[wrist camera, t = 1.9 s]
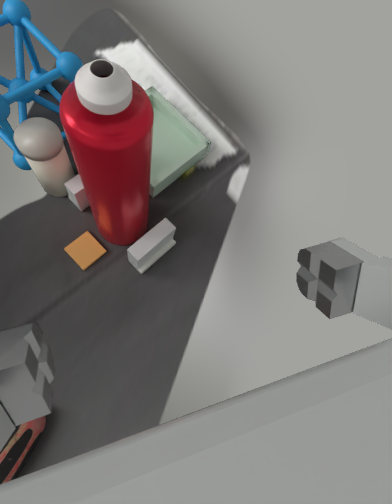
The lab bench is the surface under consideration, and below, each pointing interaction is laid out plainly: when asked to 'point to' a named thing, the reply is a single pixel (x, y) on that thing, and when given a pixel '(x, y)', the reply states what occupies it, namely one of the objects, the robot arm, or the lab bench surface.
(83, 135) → the bottle
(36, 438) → the screwdriver
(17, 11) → the molecular structure
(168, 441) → the robot arm
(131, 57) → the lab bench surface
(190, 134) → the assorted small pieces
